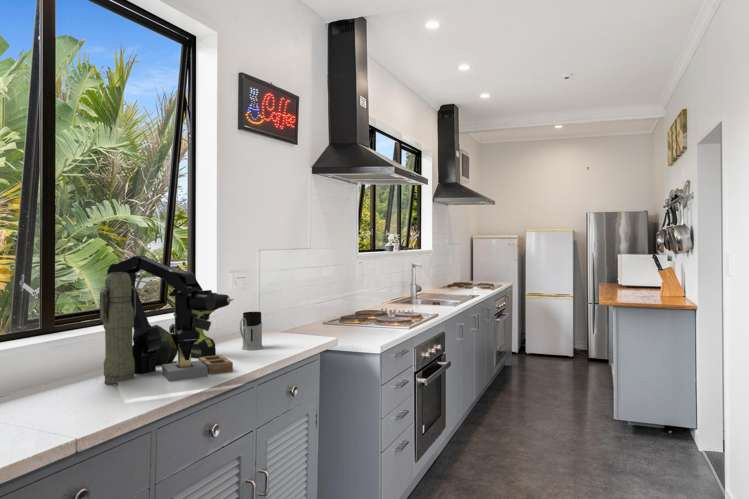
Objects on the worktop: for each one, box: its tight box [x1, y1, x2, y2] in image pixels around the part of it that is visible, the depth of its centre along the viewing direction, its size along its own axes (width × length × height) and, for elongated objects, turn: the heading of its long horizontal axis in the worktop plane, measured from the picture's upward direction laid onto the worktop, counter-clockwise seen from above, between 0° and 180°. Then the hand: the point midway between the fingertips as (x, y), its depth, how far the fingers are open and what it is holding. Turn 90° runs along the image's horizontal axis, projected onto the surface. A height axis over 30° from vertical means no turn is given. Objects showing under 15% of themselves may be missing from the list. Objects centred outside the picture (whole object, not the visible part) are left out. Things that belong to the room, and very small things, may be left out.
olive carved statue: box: [99, 272, 137, 386], centre depth 175 cm, size 9×12×35 cm
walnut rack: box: [198, 354, 234, 375], centre depth 189 cm, size 14×8×4 cm, turn 30°
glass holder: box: [239, 311, 264, 351], centre depth 227 cm, size 9×14×15 cm, turn 164°
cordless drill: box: [191, 292, 235, 359], centre depth 213 cm, size 23×7×25 cm, turn 70°
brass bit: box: [177, 344, 192, 368], centre depth 180 cm, size 3×3×10 cm
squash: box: [151, 324, 178, 366], centre depth 200 cm, size 14×15×15 cm
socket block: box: [161, 359, 209, 382], centre depth 180 cm, size 12×12×4 cm
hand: (184, 357), depth 180 cm, fingers open, 9 cm apart
